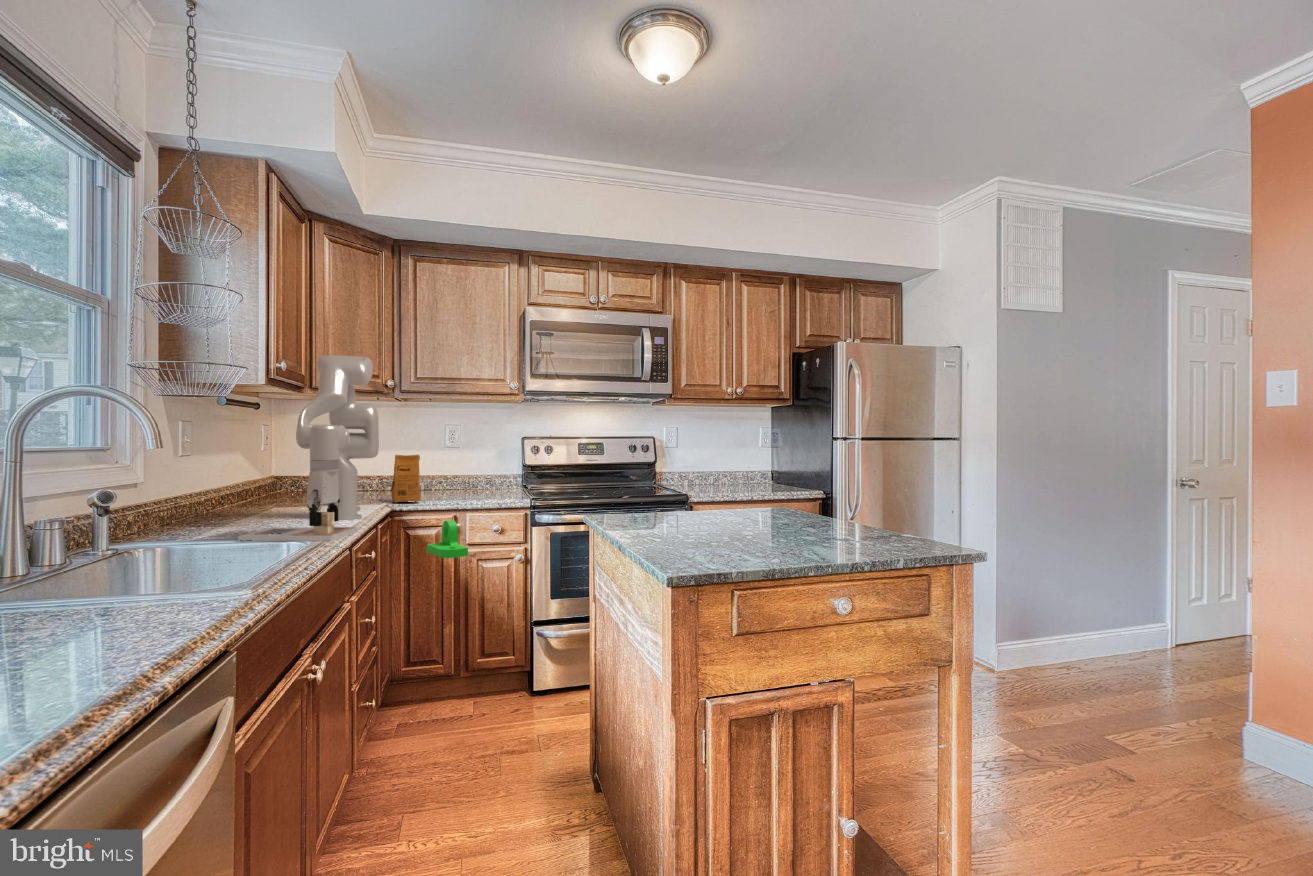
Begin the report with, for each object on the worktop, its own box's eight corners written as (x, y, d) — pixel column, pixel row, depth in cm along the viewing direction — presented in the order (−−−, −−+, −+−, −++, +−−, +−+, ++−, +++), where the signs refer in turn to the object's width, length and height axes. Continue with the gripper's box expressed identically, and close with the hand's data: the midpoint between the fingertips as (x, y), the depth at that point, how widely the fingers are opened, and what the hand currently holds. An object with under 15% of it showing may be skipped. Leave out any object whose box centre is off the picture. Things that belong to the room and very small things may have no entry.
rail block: (272, 532, 185) (272, 527, 185) (357, 532, 186) (357, 526, 186) (237, 541, 169) (237, 535, 169) (331, 540, 170) (331, 534, 170)
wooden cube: (320, 535, 180) (320, 512, 180) (334, 535, 180) (334, 512, 180) (313, 537, 176) (313, 513, 176) (327, 537, 176) (327, 513, 176)
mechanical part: (426, 552, 154) (426, 521, 154) (449, 549, 158) (449, 519, 158) (444, 559, 145) (444, 526, 145) (467, 555, 149) (467, 523, 149)
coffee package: (391, 501, 277) (391, 454, 277) (420, 500, 282) (420, 454, 282) (390, 503, 268) (390, 454, 268) (420, 502, 272) (420, 454, 272)
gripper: (326, 465, 186) (326, 519, 186) (294, 467, 169) (294, 528, 169) (351, 464, 187) (351, 519, 187) (321, 467, 169) (321, 527, 169)
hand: (324, 523), depth 178 cm, fingers open, 9 cm apart
